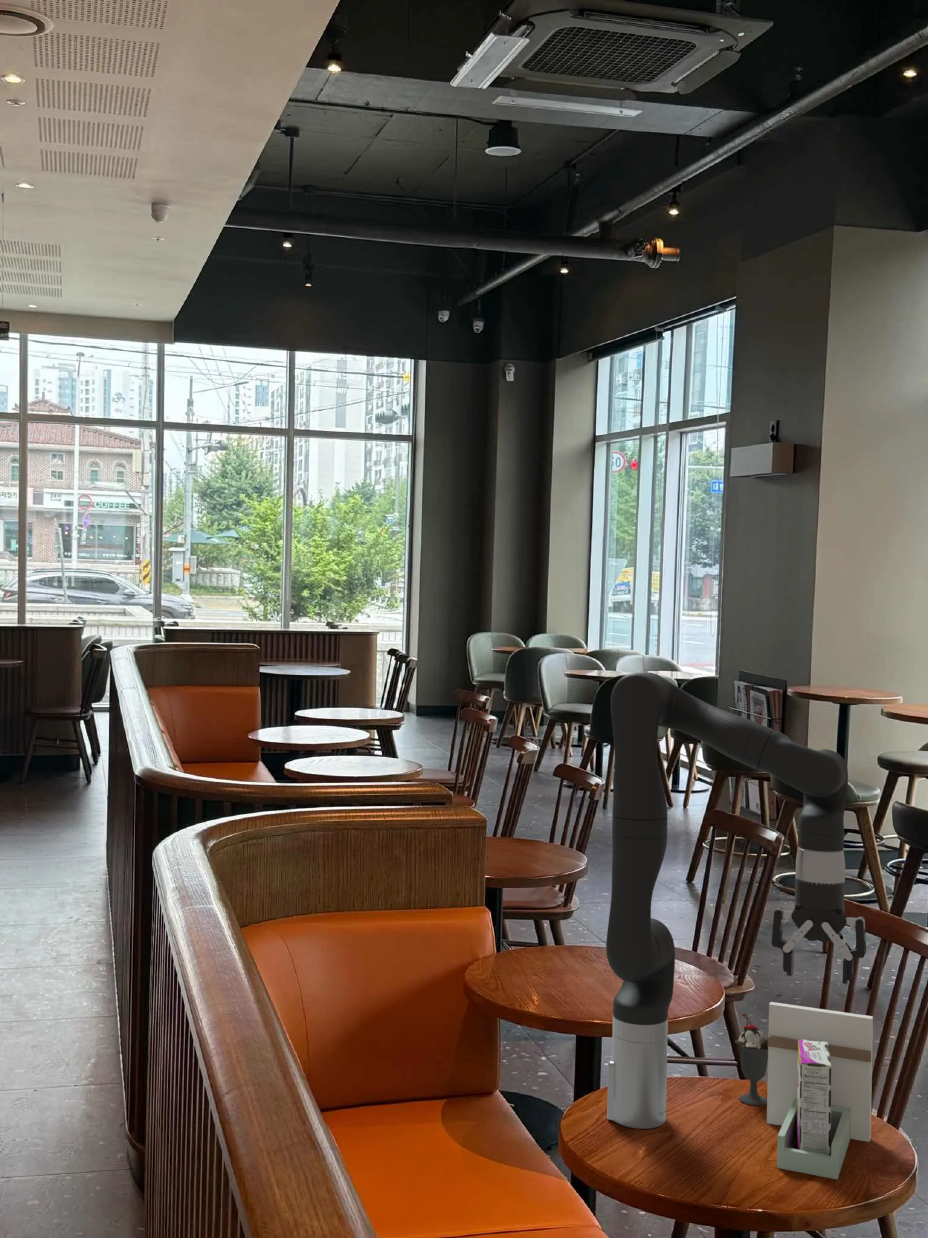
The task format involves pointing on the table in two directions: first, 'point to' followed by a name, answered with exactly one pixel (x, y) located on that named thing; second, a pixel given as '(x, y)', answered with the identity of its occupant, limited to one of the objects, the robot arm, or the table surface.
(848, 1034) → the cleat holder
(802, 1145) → the candy bar box
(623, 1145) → the table surface
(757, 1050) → the sundae
